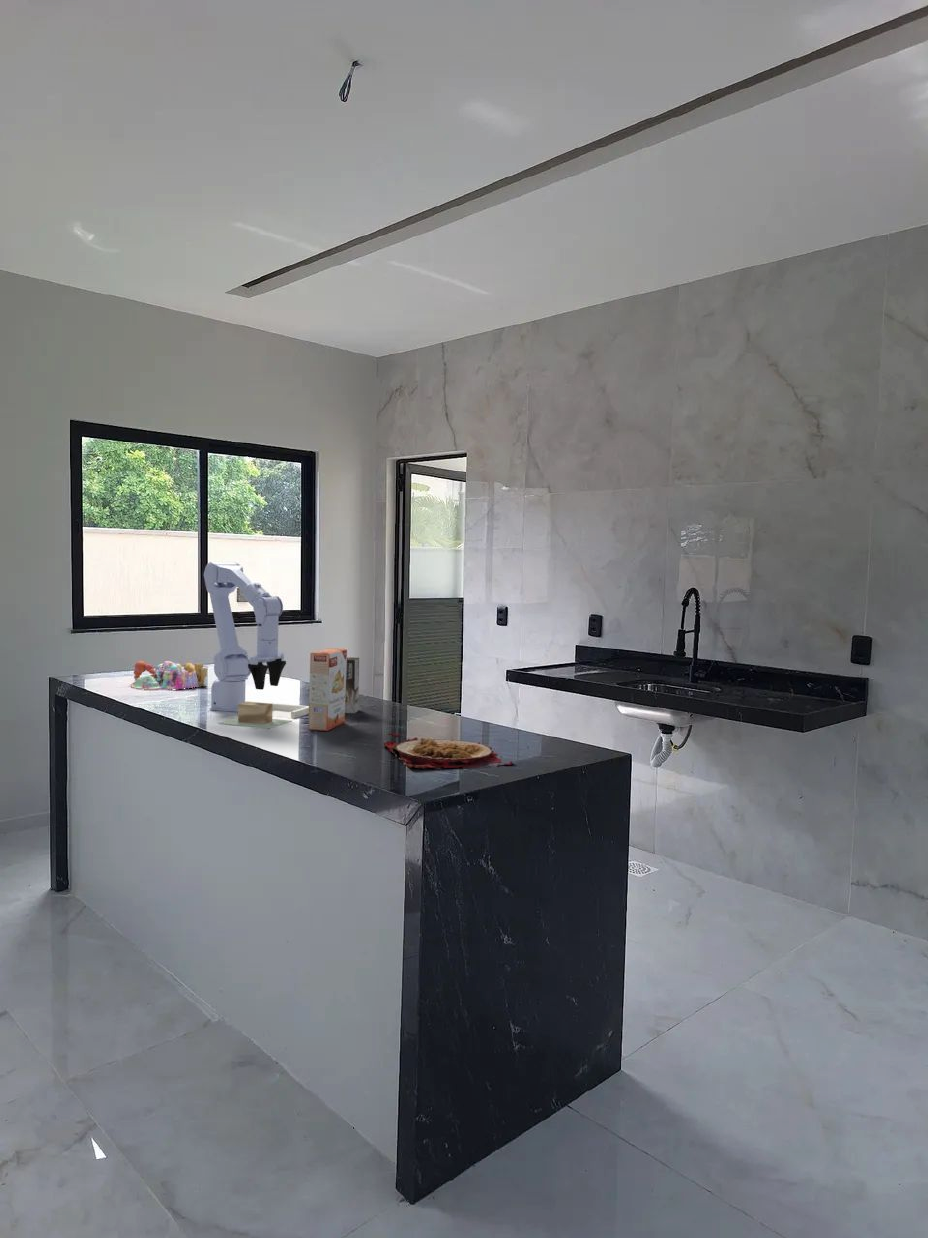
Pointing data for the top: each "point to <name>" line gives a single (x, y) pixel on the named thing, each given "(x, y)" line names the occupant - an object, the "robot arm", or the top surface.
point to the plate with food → (442, 753)
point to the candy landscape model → (169, 676)
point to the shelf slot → (289, 710)
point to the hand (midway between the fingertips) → (266, 687)
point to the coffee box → (352, 685)
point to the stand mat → (265, 726)
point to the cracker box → (327, 689)
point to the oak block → (255, 712)
